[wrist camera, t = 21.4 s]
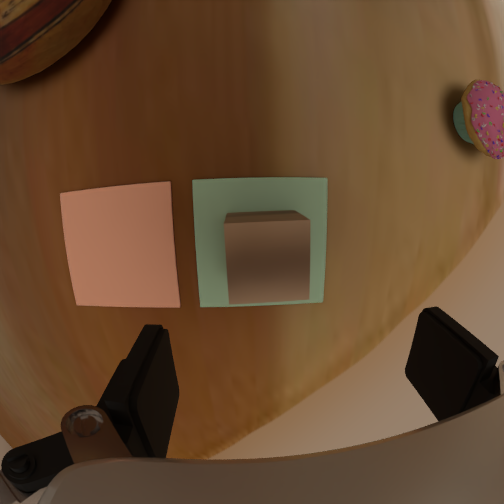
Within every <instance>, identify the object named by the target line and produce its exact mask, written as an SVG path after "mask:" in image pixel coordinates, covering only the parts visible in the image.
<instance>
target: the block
mask: <svg viewBox="0 0 504 504" xmlns="http://www.w3.org/2000/svg"><path fill="white" fill-rule="evenodd" d="M224 237H225V253H226V268H227V283H228V297H229V305H230V304H250V303H268V302H283V301H297V300H309V293H310V219H308V218H307V217H305V216H303V215H302V214H300V213H299V212H297V211H295V210H281V211H255V212H234V213H227V215H226V218H225V221H224Z"/></svg>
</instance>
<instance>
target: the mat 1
mask: <svg viewBox="0 0 504 504" xmlns="http://www.w3.org/2000/svg"><path fill="white" fill-rule="evenodd" d="M60 199H61V211H62V221H63V230H64V238H65V245H66V252H67V258H68V264H69V270H70V275H71V280H72V285H73V290H74V295H75V299H76V304H77V305H86V306H114V307H181V303H180V294H179V285H178V275H177V265H176V253H175V241H174V227H173V212H172V192H171V181H168V182H155V183H143V184H132V185H122V186H113V187H104V188H95V189H87V190H80V191H73V192H66V193H60Z"/></svg>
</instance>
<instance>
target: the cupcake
mask: <svg viewBox="0 0 504 504" xmlns="http://www.w3.org/2000/svg"><path fill="white" fill-rule="evenodd" d="M453 121H454V125H455V128H456V130H457V132H458V134H459V135H460V137H461V138H462V139H463V140H465V141H467V142H469V143H472V144H474V145H475V147H476V148H477V149H478V150H479V151H481V152H483V153H484V154H485V155H487V156H490V157H492V158H494V159H501V158H503V157H504V92H503V91H502V90H500V88H499V87H497V86H496V85H494V84H493V83H491V82H489V81H483V80H474V81H472V82H471V83H470V84H469V85H468V86H467V88H466V90H465V91H464V93H463V95H462V97H461V102H460V103H459V104H457V105H456V107H455V109H454V112H453Z"/></svg>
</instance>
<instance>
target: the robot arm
mask: <svg viewBox="0 0 504 504" xmlns="http://www.w3.org/2000/svg"><path fill="white" fill-rule="evenodd" d="M497 359H498V355H496V354H495V353H494V352H493V351H492V350H490V349H489V348H488V347H487V346H486V345H485V344H483V343H482V342H481V341H480V340H479V339H477V338H476V337H475V336H474V335H473V334H471V333H470V332H469V331H467V330H466V329H465V328H464V327H463V326H461V325H460V324H459V323H458V322H456V321H455V320H454V319H453V318H451V317H450V316H449V315H448V314H446V313H445V312H444V311H442V310H441V309H440V308H439V307H431V308H425V309H423V311H422V312H421V313H420V314H419V317H418V322H417V326H416V330H415V334H414V338H413V342H412V346H411V350H410V354H409V357H408V361H407V365H406V368H405V374H406V377H407V378H408V379H409V381H410V382H411V384H412V385H413V386H414V388H415V389H416V390H417V392H418V393H419V395H420V396H421V397H422V399H423V400H424V401H425V403H426V404H427V406H428V407H429V408H430V410H431V411H432V413H433V414H434V415H435V417H436V418H437V420H438V421H439V422H436V423H433V424H430V425H428V426H425V427H422V428H419V429H416V430H413V431H409V432H406V433H403V434H399V435H396V436H392V437H389V438H385V439H381V440H377V441H373V442H369V443H365V444H360V445H355V446H351V447H346V448H341V449H335V450H329V451H323V452H317V453H311V454H302V455H294V456H285V457H273V458H258V459H232V460H200V459H172V458H166V454H167V449H168V444H169V440H170V435H171V430H172V426H173V421H174V417H175V412H176V408H177V404H178V399H179V386H178V381H177V376H176V371H175V366H174V361H173V355H172V350H171V344H170V338H169V333H168V330H167V329H163V327H162V325H148V324H146V325H145V326H144V327H143V329H142V331H141V333H140V334H139V336H138V338H137V340H136V342H135V343H134V345H133V347H132V349H131V351H130V353H129V354H128V356H127V358H126V359H123V360H122V361H121V362H120V363H119V365H118V367H117V369H116V371H115V373H114V374H113V376H112V378H111V380H110V382H109V384H108V385H107V387H106V389H105V391H104V393H103V395H102V397H101V399H100V401H99V402H98V404H97V406H92V405H83V406H78V407H76V408H73V409H71V410H70V411H69V412H67V413H66V414H65V416H64V417H63V418H62V421H61V430H62V432H59V433H56V434H54V435H51V436H48V437H46V438H43V439H40V440H37V441H34V442H31V443H28V444H25V445H22V446H19V447H16V448H14V449H12V450H10V451H9V452H8V453H7V454H6V455H5V456H4V458H3V460H2V465H1V466H2V469H1V470H0V504H504V361H501V363H500V364H499V366H498V368H497V367H496V366H495V364H496V362H497Z"/></svg>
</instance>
